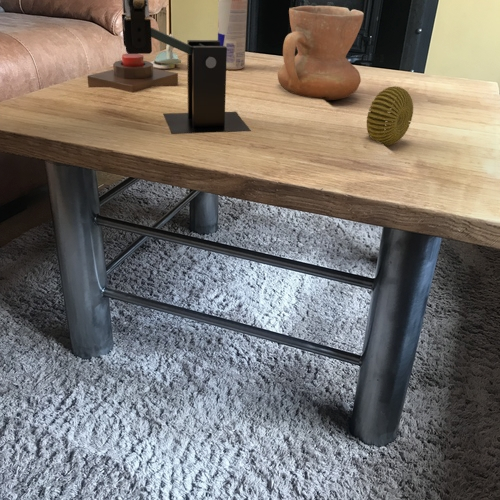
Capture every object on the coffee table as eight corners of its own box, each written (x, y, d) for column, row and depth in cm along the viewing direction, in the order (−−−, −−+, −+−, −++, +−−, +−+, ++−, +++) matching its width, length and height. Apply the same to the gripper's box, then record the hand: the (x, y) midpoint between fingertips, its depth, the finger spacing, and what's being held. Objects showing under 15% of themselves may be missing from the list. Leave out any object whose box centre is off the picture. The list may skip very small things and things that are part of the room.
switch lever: (120, 34, 70) (129, 8, 68) (118, 29, 72) (127, 5, 71) (213, 75, 75) (223, 53, 74) (208, 70, 78) (218, 48, 77)
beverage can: (248, 66, 117) (252, -13, 109) (238, 72, 112) (242, -10, 105) (223, 63, 119) (225, -15, 111) (212, 68, 114) (214, -13, 106)
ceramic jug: (318, 80, 110) (326, 1, 102) (378, 97, 101) (392, 12, 93) (250, 93, 99) (254, 6, 92) (311, 114, 90) (321, 19, 83)
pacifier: (152, 72, 109) (183, 70, 111) (150, 38, 106) (181, 37, 108) (147, 63, 115) (176, 62, 117) (145, 31, 112) (175, 30, 114)
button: (134, 69, 94) (133, 58, 94) (118, 66, 96) (117, 55, 95) (148, 65, 97) (147, 55, 96) (132, 62, 99) (131, 52, 98)
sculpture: (388, 135, 83) (398, 79, 78) (412, 142, 80) (423, 85, 76) (356, 146, 77) (365, 88, 73) (381, 154, 75) (392, 95, 71)
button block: (133, 99, 92) (131, 74, 90) (88, 88, 96) (86, 64, 94) (178, 85, 101) (177, 62, 99) (135, 76, 105) (134, 54, 103)
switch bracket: (171, 142, 75) (169, 50, 69) (163, 121, 83) (160, 37, 77) (250, 138, 78) (255, 50, 72) (235, 119, 85) (238, 37, 79)
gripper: (92, -119, 69) (105, 38, 78) (95, -126, 56) (111, 64, 65) (153, -115, 71) (159, 38, 80) (171, -121, 57) (175, 64, 67)
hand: (137, 48), depth 72 cm, fingers closed on switch lever, 3 cm apart
